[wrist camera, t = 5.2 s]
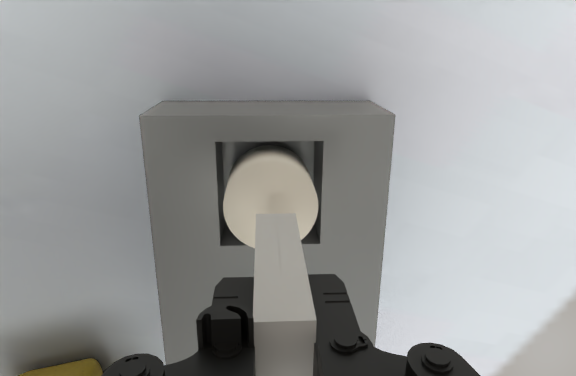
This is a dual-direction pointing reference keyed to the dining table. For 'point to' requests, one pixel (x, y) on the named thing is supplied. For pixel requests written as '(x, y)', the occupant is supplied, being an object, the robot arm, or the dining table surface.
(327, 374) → the robot arm
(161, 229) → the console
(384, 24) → the dining table surface
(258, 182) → the cream button
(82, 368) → the flower pot
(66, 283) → the dining table surface
